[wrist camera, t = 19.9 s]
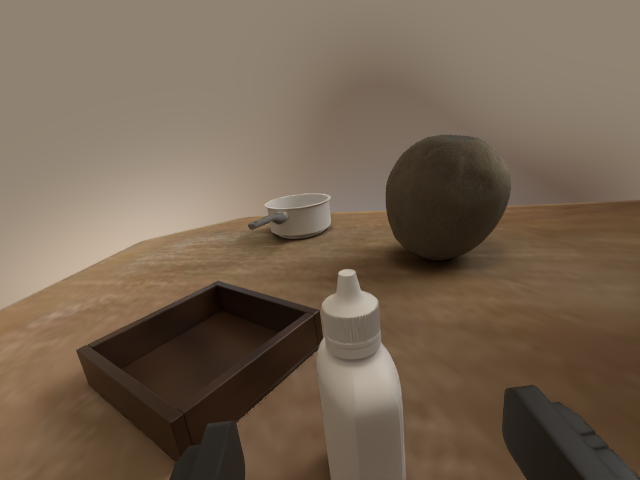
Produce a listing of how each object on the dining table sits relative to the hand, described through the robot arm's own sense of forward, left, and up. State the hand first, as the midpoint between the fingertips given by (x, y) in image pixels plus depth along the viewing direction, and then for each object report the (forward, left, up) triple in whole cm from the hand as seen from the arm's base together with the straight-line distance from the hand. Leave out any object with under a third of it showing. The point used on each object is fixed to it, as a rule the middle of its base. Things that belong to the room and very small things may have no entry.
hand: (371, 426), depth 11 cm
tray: (-6, -19, -9) cm, 22 cm away
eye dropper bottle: (-4, -3, -9) cm, 11 cm away
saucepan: (-34, -35, -9) cm, 50 cm away
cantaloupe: (-36, -10, -9) cm, 39 cm away
